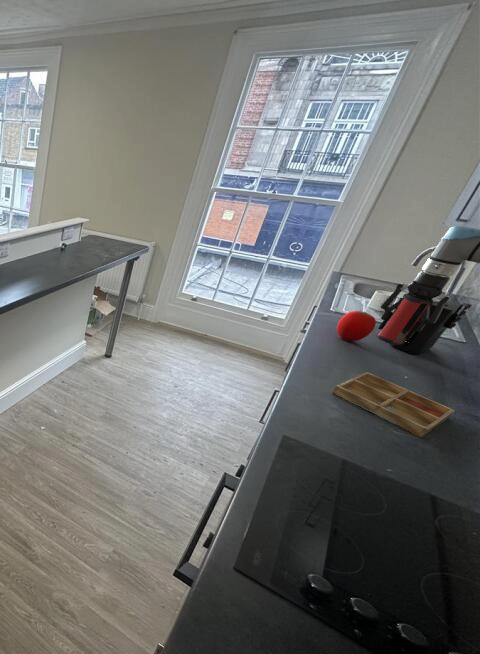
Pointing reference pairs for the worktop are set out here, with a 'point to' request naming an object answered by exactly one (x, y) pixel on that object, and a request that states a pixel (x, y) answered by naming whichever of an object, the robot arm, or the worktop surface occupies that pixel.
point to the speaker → (403, 319)
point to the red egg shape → (355, 325)
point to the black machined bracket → (434, 328)
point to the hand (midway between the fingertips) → (394, 333)
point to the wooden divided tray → (394, 403)
